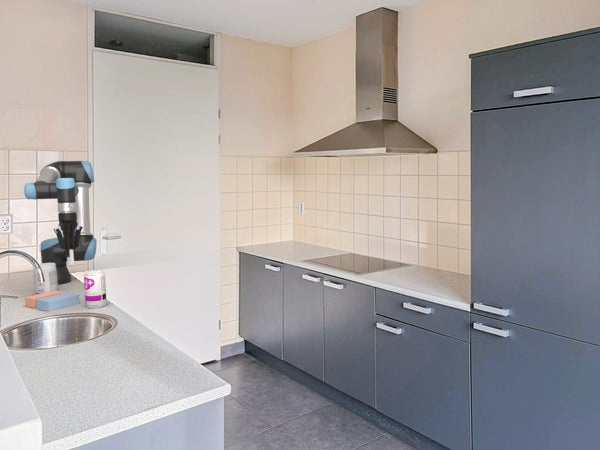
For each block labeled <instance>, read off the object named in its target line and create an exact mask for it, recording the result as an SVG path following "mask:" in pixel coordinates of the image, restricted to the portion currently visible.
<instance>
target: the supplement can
mask: <svg viewBox="0 0 600 450" xmlns="http://www.w3.org/2000/svg"><path fill="white" fill-rule="evenodd" d="M83 287H84V299H85V300H84V301H85V307H86V308H88V309H100V308H103V307H106V305H107V304H108V303H107V289H106V288H107V287H106V273H105V272H104V270H103V269H92V270H87V271H85V272H84V275H83Z"/></svg>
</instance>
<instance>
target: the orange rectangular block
mask: <svg viewBox="0 0 600 450" xmlns="http://www.w3.org/2000/svg"><path fill="white" fill-rule="evenodd" d="M62 293H65V292H64V291H62V290H58V291H57V290H56V291H51V292H47V293H42V294H38V295H36V294H34V295H29V296H25V297H24V300H25V302H24V303H25V307H27V308H31V309H36V299H40V298H45V297H49V296H53V295H58V294H62Z"/></svg>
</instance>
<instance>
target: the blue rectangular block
mask: <svg viewBox="0 0 600 450" xmlns="http://www.w3.org/2000/svg"><path fill="white" fill-rule="evenodd" d="M80 303H81V301H80V294H77V293H72V292H66V291H65V292H64V293H62V294H58V295H53V296H49V297H45V298H40V299H36V308H35V309H36V310H39V311H44V312H47V313H48V312H53V311H56V310H57V311H58V310H61V309H65V308H69V307H72V306H77V305H80Z"/></svg>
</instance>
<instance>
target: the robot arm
mask: <svg viewBox="0 0 600 450" xmlns="http://www.w3.org/2000/svg"><path fill="white" fill-rule="evenodd" d="M93 171H94V170H93V166H92V164H91V162H89V161H88V160H87V161H86V160H66V161H65V160H58V161H54V162H51V163H49V164H47V165H45V166H44V167H42V168H41V170H40V172H39V176H38V177H37V178H36V180H35V182H28V183H25V184H24V187H23V188H24V189H23V190H24V191H23V193H24V197H25V199H26V200H34V201H35V200H53V199H54V200H56V199H57V212H59V213H58V214H57V215H58V216H57V218H58V222H59V223H58V226H57V227H56V228H54V229H53V232H54V233H55V234H56V237H53V238H48V239H45V240H42V241H41V242H40V248H39V251H40V259H41V260H40V261H41V263H55V264H56V270H57V282H58V285H61V284H66V283H67V284H68V283H70V282H71V281H72V276H71V275H72V274H71V273H70V272H69V268H68V266H67V265H73V264H75V262H82V261H84V262H86V261H92V260H93V259H95V257H96V253H97V252H96V251H97V246H98V245H97V238H96V237H94V234H93V233H92V232H91V220H90V218H91V217H90V196H89V195H90V194H89V192H90V191H89V190H90V188H91V187H92V184H93V183H94V182H95V175H94V172H93Z"/></svg>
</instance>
